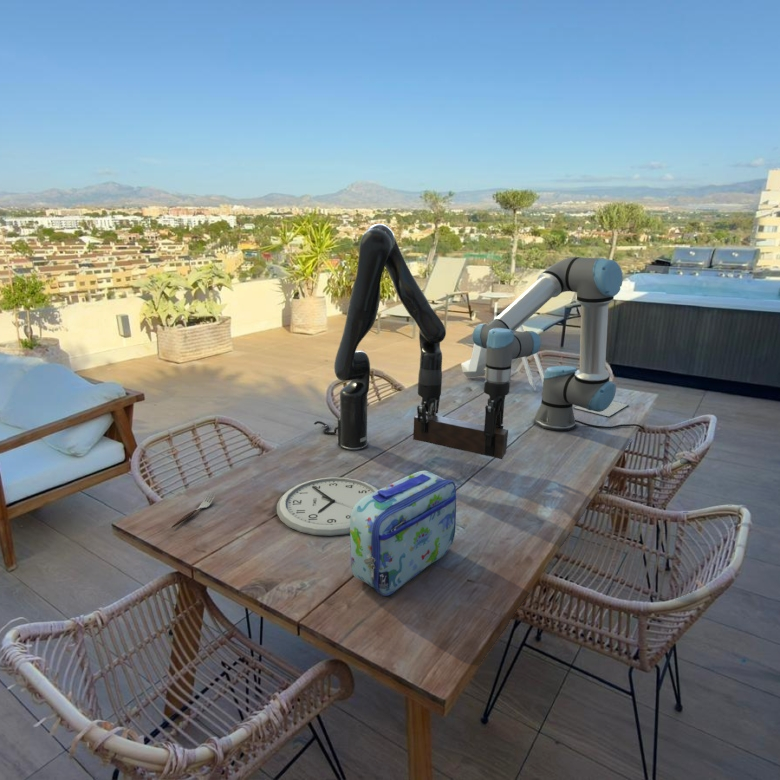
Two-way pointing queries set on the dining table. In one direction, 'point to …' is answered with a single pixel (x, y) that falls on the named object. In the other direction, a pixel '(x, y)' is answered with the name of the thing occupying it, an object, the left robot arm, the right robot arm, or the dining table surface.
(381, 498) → the lunch box
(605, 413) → the invitation card
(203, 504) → the fork
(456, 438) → the walnut beam
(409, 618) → the dining table surface
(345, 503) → the wall clock
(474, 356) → the white plastic object
